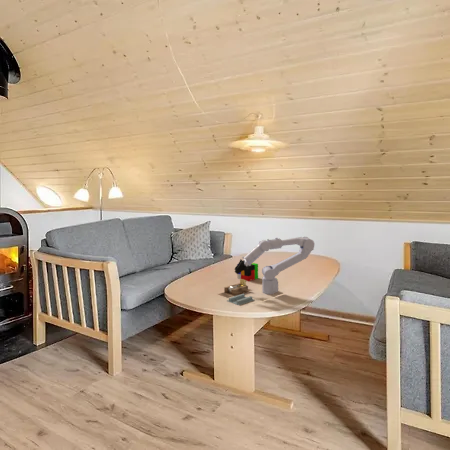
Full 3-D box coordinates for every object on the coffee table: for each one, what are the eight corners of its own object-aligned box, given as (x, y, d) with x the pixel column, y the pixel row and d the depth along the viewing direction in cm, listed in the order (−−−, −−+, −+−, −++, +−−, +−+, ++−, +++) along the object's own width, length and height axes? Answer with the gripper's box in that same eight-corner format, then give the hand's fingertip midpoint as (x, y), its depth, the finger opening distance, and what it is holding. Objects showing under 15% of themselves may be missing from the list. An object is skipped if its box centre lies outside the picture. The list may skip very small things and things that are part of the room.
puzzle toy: (237, 278, 252) (237, 264, 251) (247, 275, 259) (247, 261, 258) (247, 281, 245) (247, 266, 244) (258, 278, 252) (258, 263, 251)
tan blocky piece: (241, 288, 226) (241, 279, 225) (246, 289, 223) (246, 280, 222) (238, 289, 224) (238, 279, 223) (242, 290, 221) (242, 281, 220)
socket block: (241, 288, 230) (241, 282, 229) (252, 291, 223) (252, 285, 222) (217, 295, 216) (217, 288, 216) (227, 299, 210) (227, 292, 209)
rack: (242, 297, 212) (242, 293, 212) (254, 301, 205) (254, 297, 205) (226, 302, 205) (226, 297, 204) (239, 306, 197) (239, 302, 197)
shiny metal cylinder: (237, 290, 224) (237, 284, 224) (241, 290, 221) (241, 284, 221) (228, 293, 218) (227, 287, 218) (232, 293, 216) (231, 287, 216)
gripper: (247, 249, 222) (230, 264, 223) (248, 252, 208) (231, 268, 208) (255, 258, 222) (238, 273, 223) (257, 261, 208) (239, 277, 208)
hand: (235, 271), depth 216 cm, fingers open, 7 cm apart
